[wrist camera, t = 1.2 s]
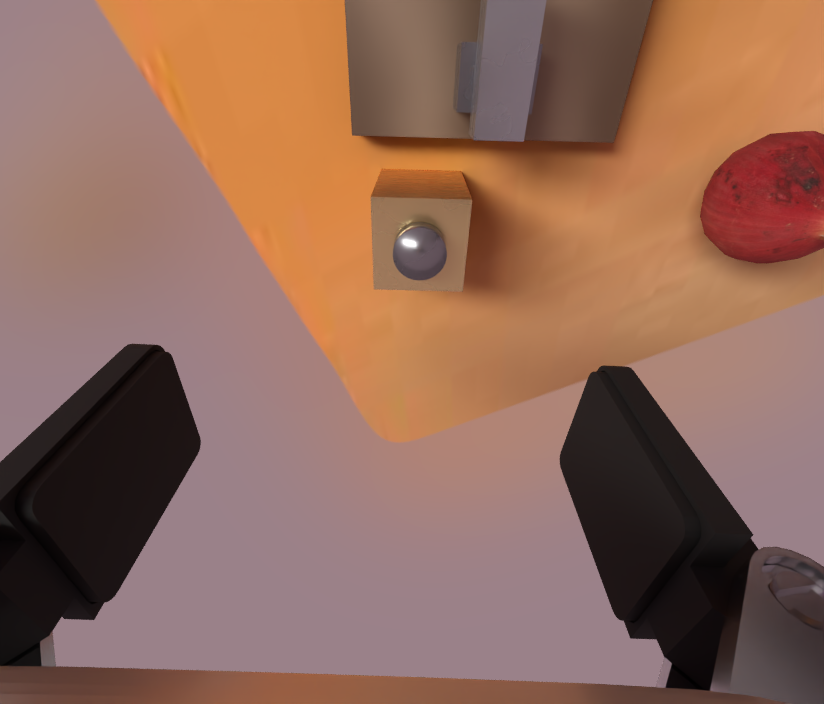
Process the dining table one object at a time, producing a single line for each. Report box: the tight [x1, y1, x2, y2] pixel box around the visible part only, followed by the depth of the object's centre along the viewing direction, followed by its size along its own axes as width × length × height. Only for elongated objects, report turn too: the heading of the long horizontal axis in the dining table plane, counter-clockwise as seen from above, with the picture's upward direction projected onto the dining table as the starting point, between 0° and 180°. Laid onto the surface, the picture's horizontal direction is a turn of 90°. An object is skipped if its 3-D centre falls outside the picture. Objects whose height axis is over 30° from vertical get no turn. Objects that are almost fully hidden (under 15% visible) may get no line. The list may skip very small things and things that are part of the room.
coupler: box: [371, 169, 472, 292], centre depth 21 cm, size 4×4×7 cm
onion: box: [700, 131, 824, 263], centre depth 19 cm, size 6×6×8 cm
